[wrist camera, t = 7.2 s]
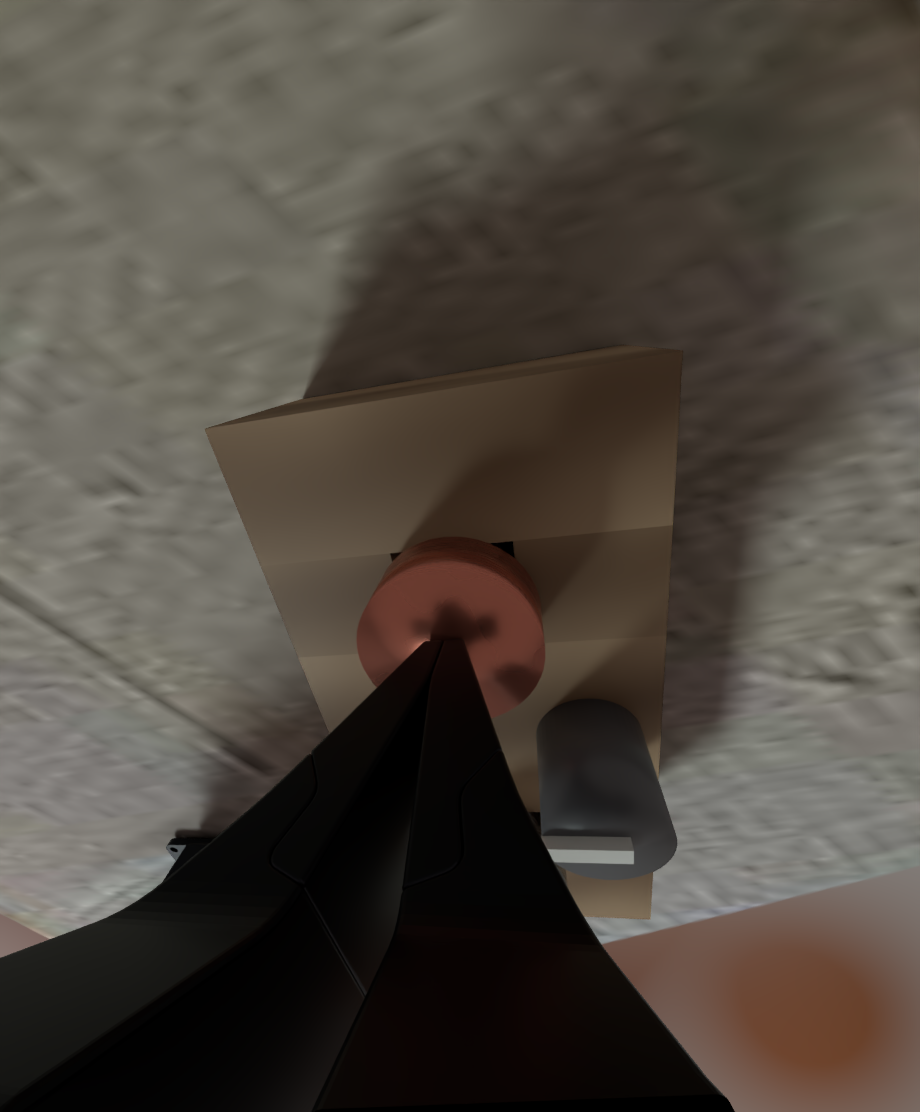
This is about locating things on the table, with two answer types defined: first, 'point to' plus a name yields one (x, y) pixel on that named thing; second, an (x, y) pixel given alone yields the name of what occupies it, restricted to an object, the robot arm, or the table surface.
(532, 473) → the mount
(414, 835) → the robot arm
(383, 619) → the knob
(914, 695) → the table surface
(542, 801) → the dial
